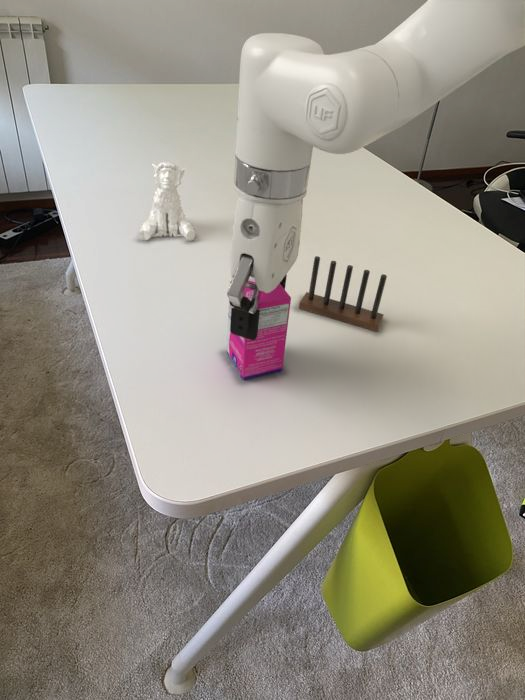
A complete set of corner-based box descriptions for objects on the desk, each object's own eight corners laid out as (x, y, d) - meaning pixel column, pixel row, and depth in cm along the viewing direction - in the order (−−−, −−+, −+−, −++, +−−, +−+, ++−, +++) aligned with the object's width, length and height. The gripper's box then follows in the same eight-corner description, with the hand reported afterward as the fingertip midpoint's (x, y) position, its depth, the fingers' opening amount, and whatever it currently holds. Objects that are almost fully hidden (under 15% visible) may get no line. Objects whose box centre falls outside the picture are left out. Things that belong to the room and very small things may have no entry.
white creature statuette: (138, 241, 93) (134, 172, 86) (139, 218, 100) (135, 152, 92) (194, 241, 95) (195, 174, 87) (192, 219, 101) (192, 154, 94)
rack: (382, 320, 81) (395, 272, 76) (377, 332, 79) (390, 283, 73) (305, 298, 84) (312, 250, 79) (298, 308, 82) (305, 260, 76)
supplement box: (224, 353, 72) (228, 278, 65) (265, 345, 74) (273, 271, 67) (240, 381, 68) (246, 304, 61) (283, 372, 70) (294, 296, 63)
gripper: (275, 216, 48) (258, 367, 59) (331, 157, 61) (309, 290, 72) (198, 197, 50) (196, 347, 61) (268, 143, 63) (256, 275, 74)
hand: (257, 315), depth 66 cm, fingers closed on supplement box, 8 cm apart
